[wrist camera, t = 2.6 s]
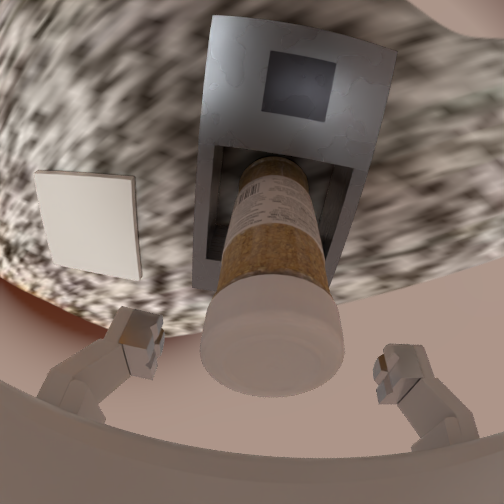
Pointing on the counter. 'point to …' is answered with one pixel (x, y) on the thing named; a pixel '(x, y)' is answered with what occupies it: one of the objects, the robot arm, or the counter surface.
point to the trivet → (90, 221)
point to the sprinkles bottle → (272, 291)
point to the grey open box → (287, 119)
